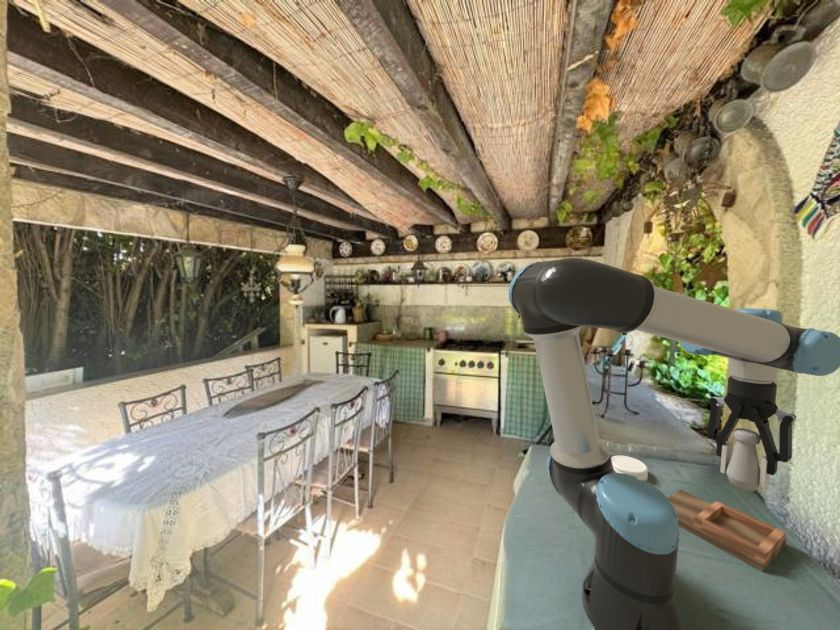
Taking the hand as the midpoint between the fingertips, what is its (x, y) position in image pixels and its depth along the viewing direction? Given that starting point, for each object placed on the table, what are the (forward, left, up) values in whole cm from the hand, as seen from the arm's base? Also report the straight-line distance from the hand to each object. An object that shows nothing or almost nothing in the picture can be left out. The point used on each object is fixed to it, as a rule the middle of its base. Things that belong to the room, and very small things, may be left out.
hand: (743, 478), depth 73 cm
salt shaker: (0, 0, -2) cm, 2 cm away
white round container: (+5, +27, -15) cm, 31 cm away
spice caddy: (0, +4, -15) cm, 15 cm away
